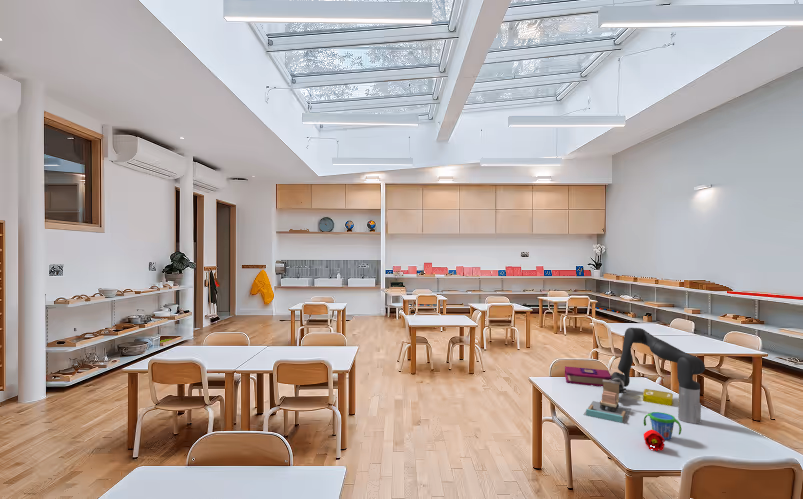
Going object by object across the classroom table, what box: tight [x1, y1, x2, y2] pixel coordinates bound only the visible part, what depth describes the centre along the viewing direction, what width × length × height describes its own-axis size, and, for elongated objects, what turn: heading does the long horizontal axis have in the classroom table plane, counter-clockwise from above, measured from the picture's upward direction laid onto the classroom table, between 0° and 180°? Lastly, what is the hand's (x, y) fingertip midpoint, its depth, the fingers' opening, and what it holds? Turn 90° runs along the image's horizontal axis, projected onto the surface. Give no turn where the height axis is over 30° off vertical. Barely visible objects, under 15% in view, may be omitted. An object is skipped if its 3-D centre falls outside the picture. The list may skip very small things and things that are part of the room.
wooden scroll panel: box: [599, 380, 620, 412], centre depth 248 cm, size 11×9×14 cm
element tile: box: [642, 388, 674, 407], centre depth 267 cm, size 15×15×5 cm
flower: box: [643, 429, 666, 452], centre depth 200 cm, size 8×8×8 cm
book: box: [564, 366, 612, 387], centre depth 304 cm, size 21×28×8 cm
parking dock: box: [583, 400, 632, 425], centre depth 243 cm, size 28×20×4 cm
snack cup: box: [643, 411, 683, 440], centre depth 212 cm, size 16×10×10 cm
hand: (612, 392), depth 256 cm, fingers closed
